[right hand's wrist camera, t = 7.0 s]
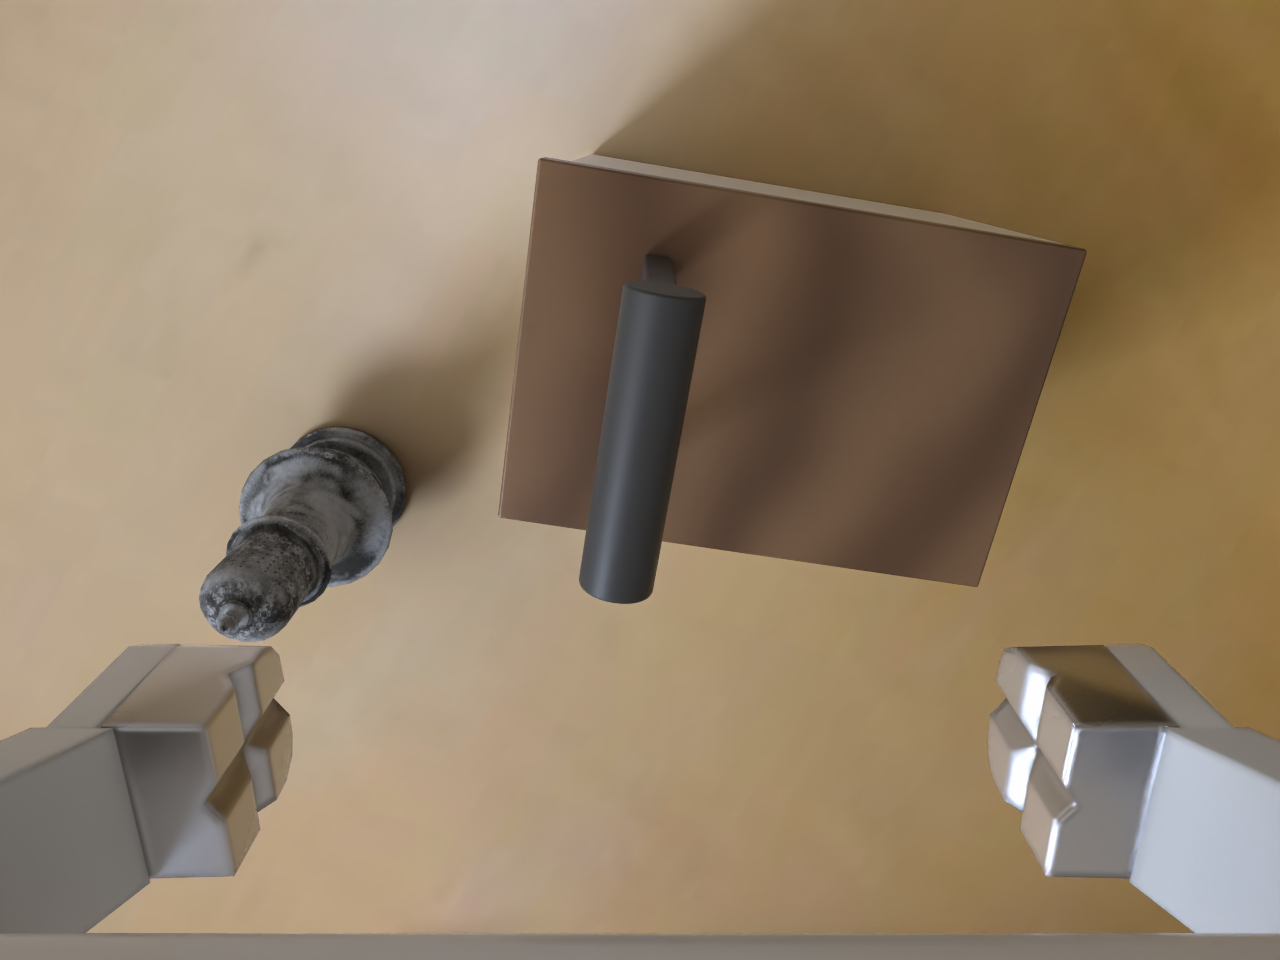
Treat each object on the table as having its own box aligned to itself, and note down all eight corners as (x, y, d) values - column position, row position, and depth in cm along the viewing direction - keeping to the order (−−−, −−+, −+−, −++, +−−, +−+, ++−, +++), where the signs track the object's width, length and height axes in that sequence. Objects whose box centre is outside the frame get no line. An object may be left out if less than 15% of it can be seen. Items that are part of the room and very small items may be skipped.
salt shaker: (297, 397, 37) (148, 510, 26) (433, 454, 38) (346, 588, 27) (256, 517, 39) (101, 671, 28) (386, 569, 40) (287, 739, 29)
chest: (557, 407, 37) (526, 505, 27) (590, 154, 34) (569, 161, 24) (880, 456, 38) (965, 570, 28) (945, 213, 35) (1068, 244, 25)
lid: (503, 502, 27) (446, 653, 19) (542, 156, 24) (494, 166, 16) (965, 570, 28) (1092, 741, 20) (1069, 245, 25) (1272, 296, 17)
